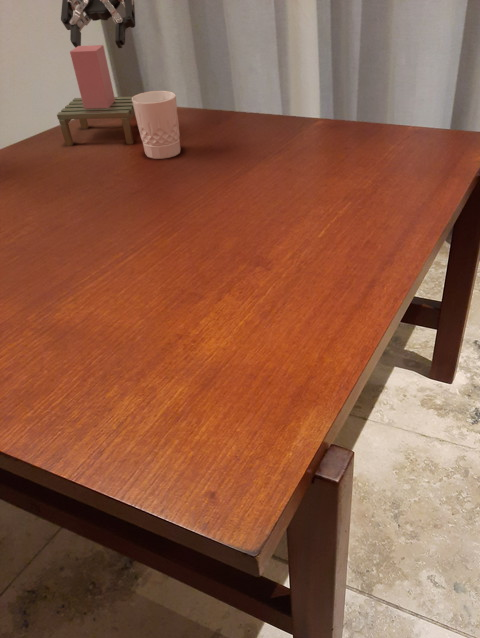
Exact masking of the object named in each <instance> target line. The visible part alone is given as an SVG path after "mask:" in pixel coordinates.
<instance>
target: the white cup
mask: <svg viewBox="0 0 480 638" xmlns="http://www.w3.org/2000/svg"><path fill="white" fill-rule="evenodd" d="M133 96H134V97H132V103H133V107H134V112H135V115H134V117H135V120H136V124H137V128H138V131H139V136H140V139H141V142H142V146H143V150H144V154H145V156H146V157H147V158H150V159H155V160H157V159H158V160H164V159H170V158H173V157H176V156H178V155H179V154H180V153H181V150H182V148H181V140H180V134H181V133H180V125H179V124H180V123H179V113H178V105H177V95H176V93H174V92H172V91H168V90H152V91H145V92H141V93H137V94H135V95H133Z"/></svg>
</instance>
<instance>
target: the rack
mask: <svg viewBox="0 0 480 638" xmlns="http://www.w3.org/2000/svg"><path fill="white" fill-rule="evenodd" d="M134 96H135V95H133V96H114V97H115V102H114V103H113V104H112V105H111V106H110V107H109V108H94V109H84V106H83V102H82V98H81V97H74V98H73V99H72V101H70V102H69V103H68V104H66V105H65V107H64V108H62V109H61V110H60V111H59V112H58V113H57V114H56V117H57V120H58V121H59V126H60V129H61V133H62V136H63V140H64V144H65V147H72V146H73V145H74V140H73V137H72V132H71V129H70V126H69V123H70V122H71V121H72V120H79V124H80V127H81V130H87V129H89V123H88V120H96V119H97V120H98V119H120V120H121V123H122V129H123V132H124V138H125V142H126V145H133V144H134V143H135V141H134V136H133V131H132V125H131V121H132V120H133V118H134V117H135V112H134V107H133V103H132V97H134Z"/></svg>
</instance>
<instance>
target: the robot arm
mask: <svg viewBox="0 0 480 638" xmlns="http://www.w3.org/2000/svg"><path fill="white" fill-rule="evenodd" d="M61 2H62V3H61V10H60V11H61V12H60V21H61V23H62V24H63V26H64V27H65V29H66V30H67V31H70V33H69V34H70V36H69V39H70V42H71V44H72V45H73V47H74V48H76V47H77V46H82V30H83V29H84V28H85V26H86V27H87V26H88V25H89V24H90V23H91V21H92V22H97V21H100V20H101V21H109V19H110V18H111V20H112V21H113V22H114V23H115V26H114V27H115V29H114V30H115V32H114V33H115V34H114V35H115V37H114V41H115V45H116V46H117V48H118V49H122V48H123V46H125V44H126V30H127V29H128V28H131V29H133V28H135V27H136V10H135V8H136V7H135V0H61ZM121 4H122V5H123V7H124V13H125V15H124V16H123V17H122V16H121V14H119V12H118V11H117V10H118V8H119V7H120V6H121ZM84 13H85V15H84Z"/></svg>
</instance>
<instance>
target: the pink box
mask: <svg viewBox="0 0 480 638" xmlns="http://www.w3.org/2000/svg"><path fill="white" fill-rule="evenodd" d="M69 55H70V58H71V62H72V66H73V71H74V74H75V79H76V81H77V82H76V83H77V85H78V90H79V94H80V98H82V102H83V106H84V109H94V108H109V107H110V106H111V105H112V104H113V103H114V102H115V97H116V96H115V94H114V89H113V84H112V79H111V75H110V70H109V69H110V68H109V66H108V61H107V56H106V52H105V46H104V44H97V45H95V44H94V45H92V44H91V45H81V46H77V47H76V48H75V47H74V48H73V49H72V50H70V51H69Z"/></svg>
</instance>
